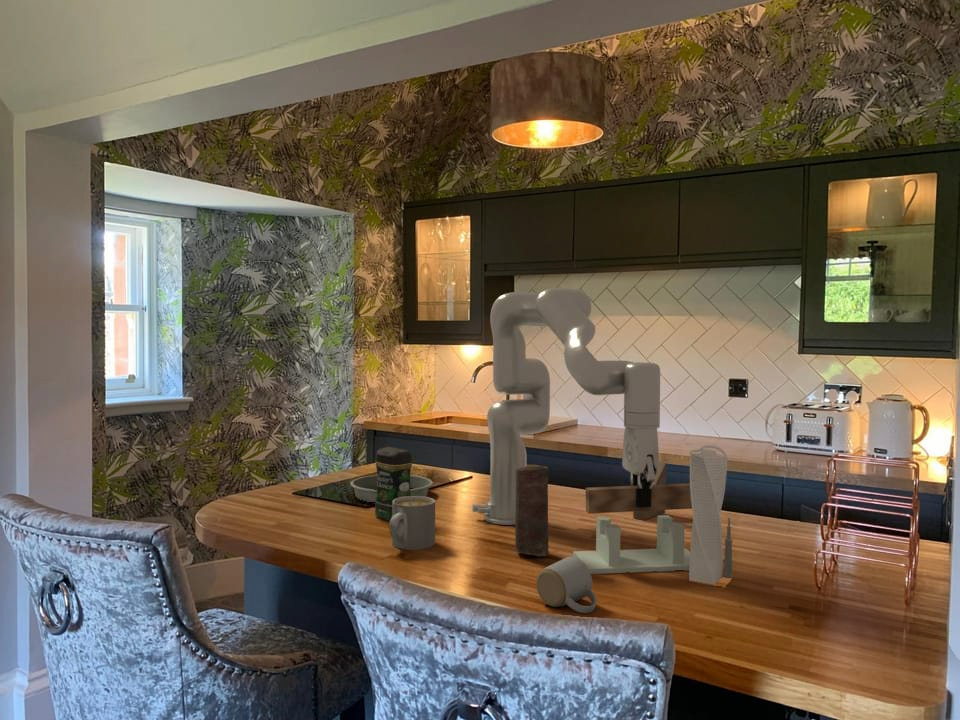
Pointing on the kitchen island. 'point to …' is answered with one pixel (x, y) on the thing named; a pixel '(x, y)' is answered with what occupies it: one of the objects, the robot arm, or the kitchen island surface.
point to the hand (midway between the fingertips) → (640, 504)
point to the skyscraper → (708, 517)
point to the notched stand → (636, 550)
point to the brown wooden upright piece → (659, 480)
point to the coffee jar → (391, 479)
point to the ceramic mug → (566, 584)
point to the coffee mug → (413, 522)
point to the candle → (532, 510)
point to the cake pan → (369, 483)
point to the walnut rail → (626, 498)
